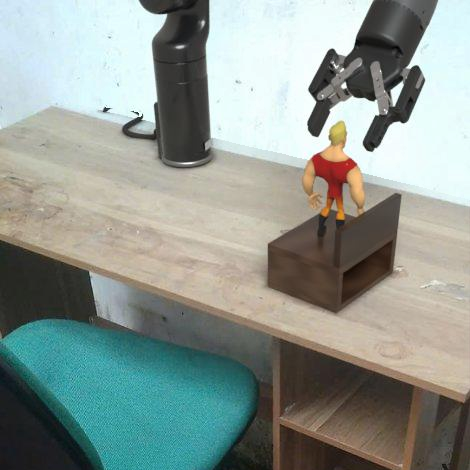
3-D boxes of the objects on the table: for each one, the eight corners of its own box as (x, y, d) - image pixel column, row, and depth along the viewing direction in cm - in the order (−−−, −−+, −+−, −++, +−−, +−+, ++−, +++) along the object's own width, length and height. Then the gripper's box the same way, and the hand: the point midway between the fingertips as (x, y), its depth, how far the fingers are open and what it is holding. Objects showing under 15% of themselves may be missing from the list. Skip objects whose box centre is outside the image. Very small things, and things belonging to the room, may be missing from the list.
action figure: (369, 239, 109) (379, 123, 98) (356, 249, 107) (365, 132, 96) (311, 222, 113) (314, 110, 102) (297, 232, 111) (299, 118, 100)
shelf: (267, 286, 113) (267, 207, 105) (325, 249, 121) (329, 173, 112) (336, 313, 107) (341, 232, 99) (393, 272, 115) (401, 194, 107)
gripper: (340, -11, 99) (282, 113, 101) (440, 5, 92) (376, 137, 94) (361, 28, 105) (306, 144, 108) (456, 45, 99) (396, 168, 101)
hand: (339, 141), depth 101 cm, fingers open, 8 cm apart
